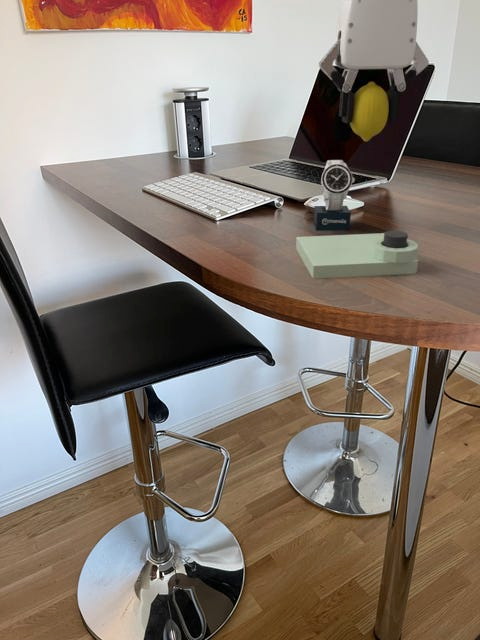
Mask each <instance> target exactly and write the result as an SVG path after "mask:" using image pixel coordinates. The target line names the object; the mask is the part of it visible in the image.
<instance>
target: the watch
mask: <svg viewBox="0 0 480 640" xmlns="http://www.w3.org/2000/svg"><path fill="white" fill-rule="evenodd" d="M355 181H356V180H355V177H353V173H352V172H351V170H350V168H349V167H348V164H347V163H346V162H344V160H343V159H328V160H327V161H326V163H325V167H324V169H323V172H322V174H321V178H320V184H321V187H322V188H323V194H322V196H323V202H324V204H325V205H313V206H314V208H313V226H314V229H315V231H316V232H317V231H318V232H319V231H323V232H324V231H327V232H328V231H332V232H333V231H335V232H336V231H350V227H351V226H350V225H351V211H350V209H349V206H347V205H343V204H344V200H346V199H347V196H348V193H349V190H350V188H351V187H352V185H353V184H354V183H355Z"/></svg>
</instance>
